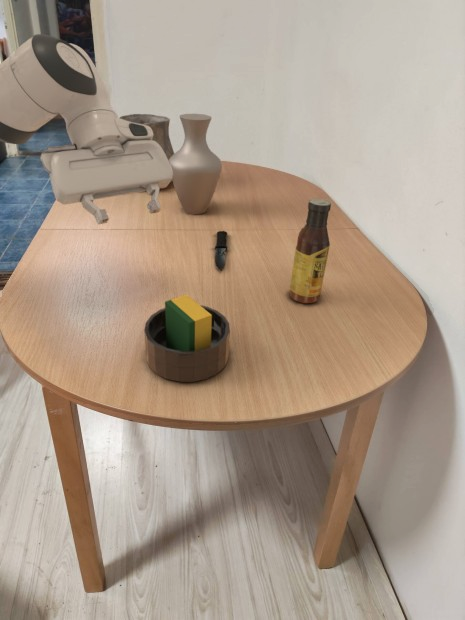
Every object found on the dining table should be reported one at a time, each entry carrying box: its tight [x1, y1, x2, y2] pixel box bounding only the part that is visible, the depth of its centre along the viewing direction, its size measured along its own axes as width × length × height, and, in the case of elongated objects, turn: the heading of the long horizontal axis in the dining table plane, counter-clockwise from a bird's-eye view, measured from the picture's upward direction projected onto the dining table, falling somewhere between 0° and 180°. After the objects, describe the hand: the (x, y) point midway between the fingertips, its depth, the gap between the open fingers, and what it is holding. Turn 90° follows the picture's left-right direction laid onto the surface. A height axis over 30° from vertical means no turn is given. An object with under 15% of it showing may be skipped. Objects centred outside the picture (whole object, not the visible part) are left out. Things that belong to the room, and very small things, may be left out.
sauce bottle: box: [289, 198, 332, 304], centre depth 86 cm, size 6×6×20 cm
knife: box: [214, 230, 228, 272], centre depth 106 cm, size 21×1×3 cm
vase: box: [169, 113, 223, 215], centre depth 122 cm, size 14×14×25 cm
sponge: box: [164, 294, 212, 351], centre depth 71 cm, size 4×7×9 cm, turn 37°
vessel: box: [119, 113, 175, 183], centre depth 141 cm, size 22×22×20 cm
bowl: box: [143, 304, 231, 383], centre depth 72 cm, size 13×13×6 cm
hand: (130, 216), depth 75 cm, fingers open, 8 cm apart
